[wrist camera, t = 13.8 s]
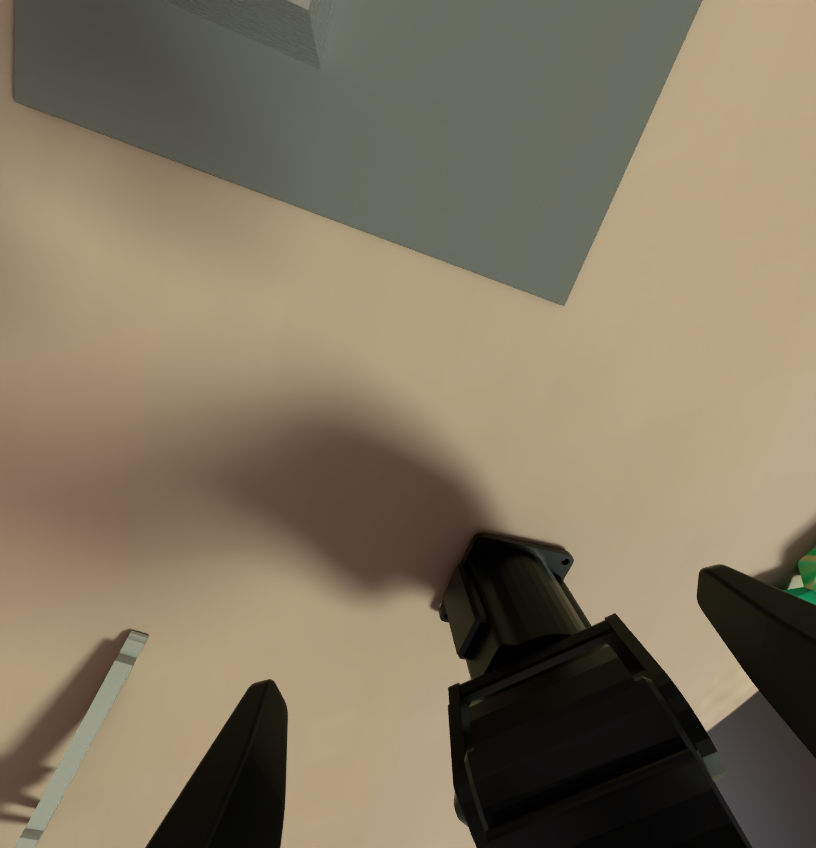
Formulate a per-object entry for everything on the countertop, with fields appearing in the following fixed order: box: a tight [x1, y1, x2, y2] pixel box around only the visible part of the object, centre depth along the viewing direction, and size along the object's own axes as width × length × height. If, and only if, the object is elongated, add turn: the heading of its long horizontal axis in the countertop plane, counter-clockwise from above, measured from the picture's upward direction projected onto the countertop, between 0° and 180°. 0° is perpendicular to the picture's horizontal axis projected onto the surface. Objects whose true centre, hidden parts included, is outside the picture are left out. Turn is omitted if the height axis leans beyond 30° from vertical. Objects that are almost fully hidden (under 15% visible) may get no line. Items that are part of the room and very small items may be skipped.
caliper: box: [15, 631, 149, 848], centre depth 24 cm, size 20×1×6 cm, turn 148°
